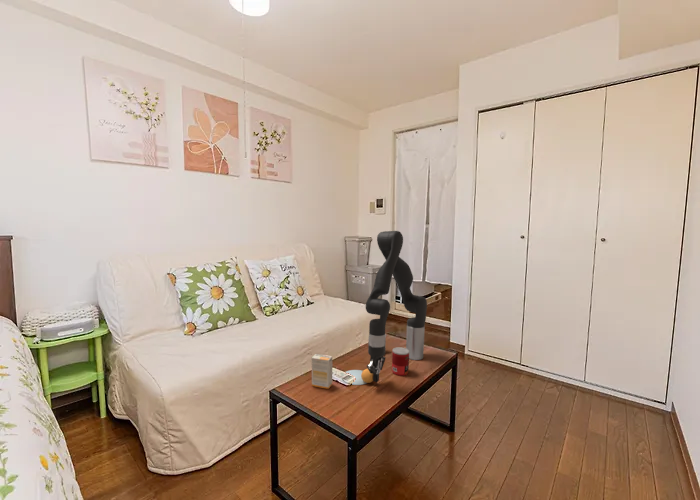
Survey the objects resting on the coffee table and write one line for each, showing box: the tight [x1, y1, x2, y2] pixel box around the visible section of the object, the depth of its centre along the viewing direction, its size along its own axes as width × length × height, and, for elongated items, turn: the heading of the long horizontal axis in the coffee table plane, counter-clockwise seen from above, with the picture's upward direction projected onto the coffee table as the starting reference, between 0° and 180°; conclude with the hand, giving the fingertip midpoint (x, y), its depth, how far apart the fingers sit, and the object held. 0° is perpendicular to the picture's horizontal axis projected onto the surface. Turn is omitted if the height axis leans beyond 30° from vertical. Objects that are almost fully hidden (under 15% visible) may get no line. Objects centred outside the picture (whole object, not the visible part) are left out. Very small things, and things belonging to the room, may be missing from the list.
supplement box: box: [311, 353, 333, 390], centre depth 143 cm, size 8×5×13 cm, turn 71°
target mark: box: [345, 369, 367, 386], centre depth 151 cm, size 14×14×1 cm
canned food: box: [391, 346, 410, 377], centre depth 156 cm, size 8×8×11 cm
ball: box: [361, 368, 374, 384], centre depth 146 cm, size 6×6×6 cm
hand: (375, 381), depth 144 cm, fingers closed
